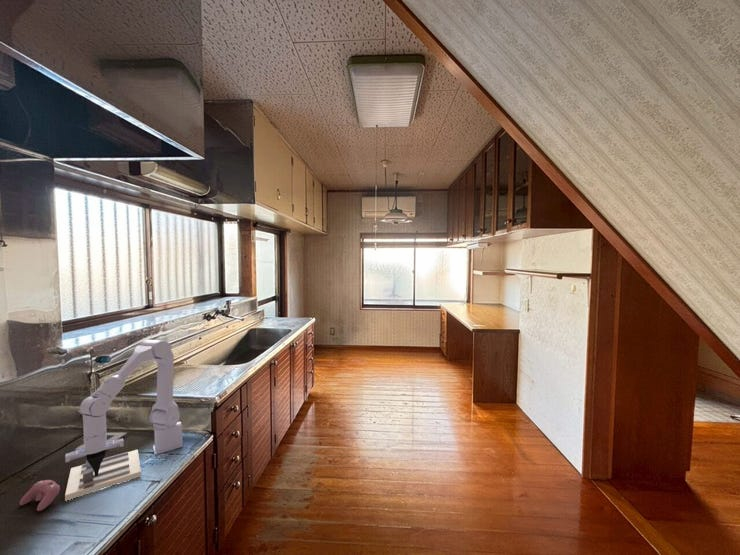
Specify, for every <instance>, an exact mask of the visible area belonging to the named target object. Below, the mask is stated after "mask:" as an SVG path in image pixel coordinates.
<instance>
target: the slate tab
mask: <svg viewBox="0 0 740 555" xmlns="http://www.w3.org/2000/svg"><path fill="white" fill-rule="evenodd" d="M85 464H86V469H88V468H92V467H91V465H90V464H89V463H88V462H87V460H85Z"/></svg>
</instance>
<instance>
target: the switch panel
mask: <svg viewBox="0 0 740 555" xmlns="http://www.w3.org/2000/svg"><path fill="white" fill-rule="evenodd" d="M139 456H140V455H139V450H138V449H134V450H131V451H126V452H122V453H119V454H115V455H112V456H108V457H104V458H103V460H102V463H101V465H100V468H99V472H98V476H95V473H94V470H93V481H91V482H88V483H84V484H83V472H84V471H86V470H90V469H93V468H88V469H86V463H83V464H81V465H78V466H74V467H71V468H70V472H69V476H68V480H67V485H66V489H65V494H64V501H66V502H68V501H67V500H69V501H72V500H74V499H73V498H76V497H79V496H82V495H84V494H87V493H89V492H92V491H95V490H98V489H101V488H104V487H108V486H111V485H114V484H117V483H121V482H124V481H128V480H131V479H134V478H137V477H140V476H141V477H142V470H141V463H140V457H139ZM141 477H140V478H141ZM137 479H138V478H137ZM134 480H135V479H134ZM131 481H132V480H131ZM128 482H129V481H128ZM82 497H83V496H82ZM79 498H80V497H79ZM71 499H72V500H71ZM76 499H77V498H76Z"/></svg>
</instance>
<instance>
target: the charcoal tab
mask: <svg viewBox="0 0 740 555" xmlns="http://www.w3.org/2000/svg"><path fill="white" fill-rule="evenodd" d="M91 481H93V469H90V470H86V471H84V472H83V484H84V483H88V482H91Z"/></svg>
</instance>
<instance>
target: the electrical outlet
mask: <svg viewBox="0 0 740 555" xmlns="http://www.w3.org/2000/svg"><path fill="white" fill-rule="evenodd" d="M106 434H107V441H112V440H118V439H122V438H124V437H125V436H126V435H127V434H128V432H106ZM81 448H84V443H83V444H81V445H79V446H77V447H76V448H74V451H76V450H79V449H81Z"/></svg>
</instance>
